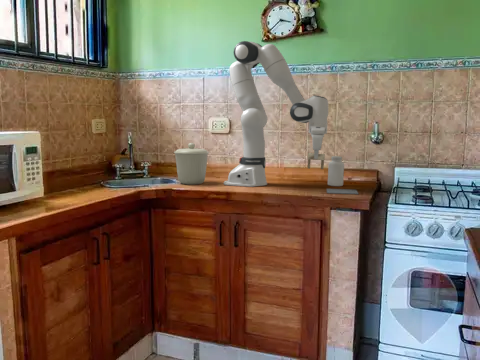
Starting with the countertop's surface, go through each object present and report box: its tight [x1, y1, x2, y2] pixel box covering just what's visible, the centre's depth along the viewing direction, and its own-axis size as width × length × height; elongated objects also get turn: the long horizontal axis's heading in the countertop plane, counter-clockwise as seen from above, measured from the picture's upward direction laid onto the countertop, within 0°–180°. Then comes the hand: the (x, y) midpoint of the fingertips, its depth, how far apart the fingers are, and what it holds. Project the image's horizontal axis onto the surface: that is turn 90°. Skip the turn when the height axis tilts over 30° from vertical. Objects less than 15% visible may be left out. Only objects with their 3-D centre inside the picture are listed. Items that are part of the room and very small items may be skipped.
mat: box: [326, 188, 359, 195], centre depth 216 cm, size 14×12×1 cm
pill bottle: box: [327, 155, 345, 187], centre depth 237 cm, size 8×8×15 cm
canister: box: [173, 142, 210, 186], centre depth 238 cm, size 18×18×21 cm
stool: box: [307, 152, 326, 170], centre depth 224 cm, size 8×5×7 cm, turn 81°
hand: (315, 158), depth 223 cm, fingers closed on stool, 5 cm apart
